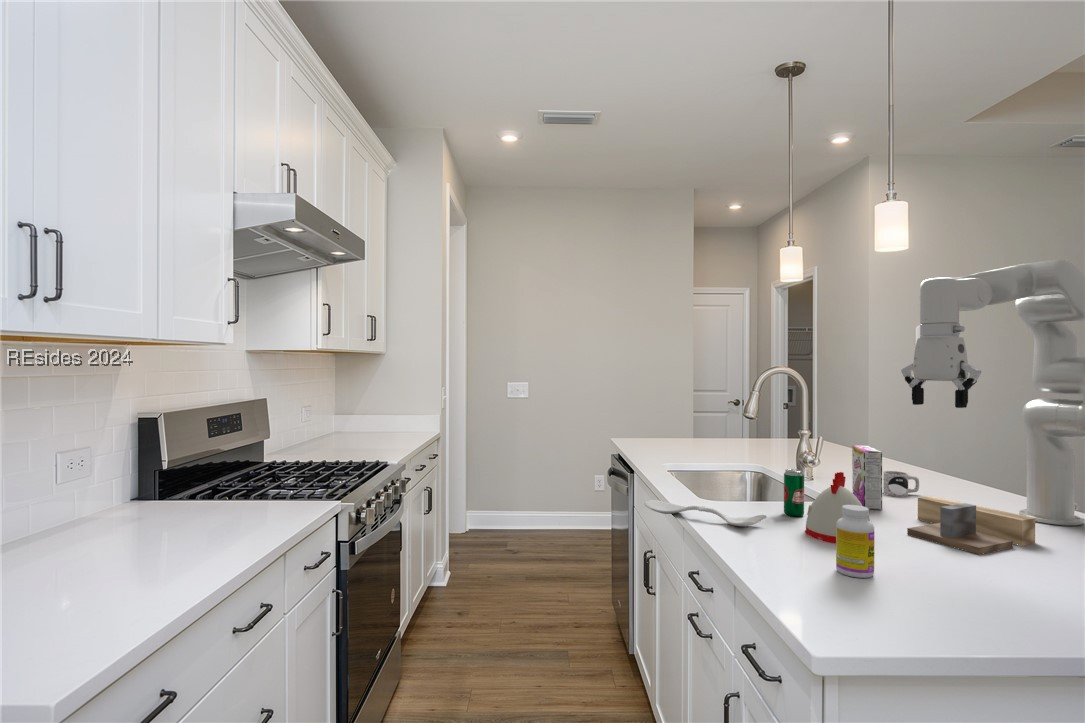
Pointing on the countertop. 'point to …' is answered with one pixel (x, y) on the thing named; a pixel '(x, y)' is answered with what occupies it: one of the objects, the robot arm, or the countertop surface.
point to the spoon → (672, 508)
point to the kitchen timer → (829, 510)
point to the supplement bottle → (855, 542)
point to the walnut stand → (960, 531)
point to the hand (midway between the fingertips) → (938, 406)
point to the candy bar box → (867, 476)
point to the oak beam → (984, 520)
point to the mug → (898, 483)
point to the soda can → (794, 492)
